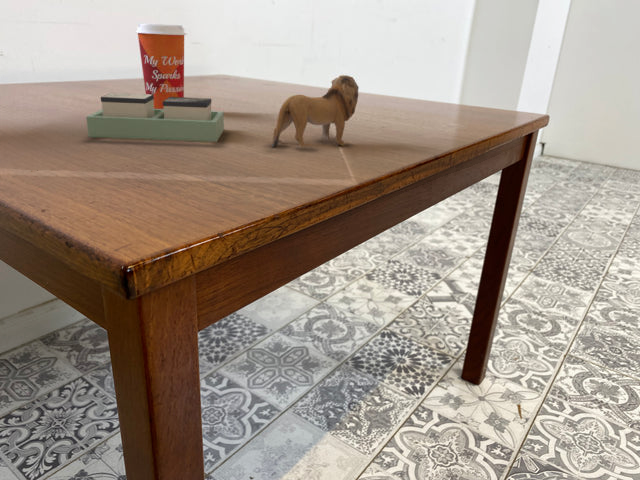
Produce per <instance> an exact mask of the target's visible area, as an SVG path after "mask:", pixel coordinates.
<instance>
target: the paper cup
mask: <svg viewBox="0 0 640 480" xmlns="http://www.w3.org/2000/svg"><path fill="white" fill-rule="evenodd" d="M135 33H137V38H138V47H139V53H140V54H139V55H140V61H141V69H142V76H143V85H144V91H145V94H151V95H154V99H153V101H154V109H164V106H163V101H164V100H166V99H167V98H169V97H185V36H187V35H188V33H186V32H185V28H184V27H183V25H178V24H162V23H140V22H139V23H138V24H137V30H135Z"/></svg>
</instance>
